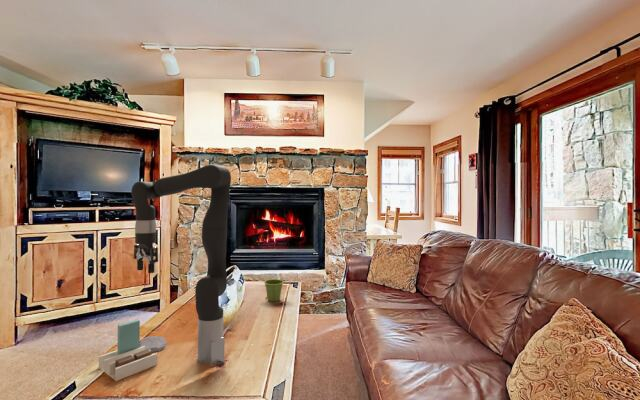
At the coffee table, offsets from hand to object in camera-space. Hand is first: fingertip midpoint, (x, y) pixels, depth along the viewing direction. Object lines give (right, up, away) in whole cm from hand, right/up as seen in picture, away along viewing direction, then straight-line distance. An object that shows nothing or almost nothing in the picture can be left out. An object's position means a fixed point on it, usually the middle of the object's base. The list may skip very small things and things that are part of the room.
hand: (145, 271), depth 137 cm
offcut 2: (+6, -31, -14) cm, 35 cm away
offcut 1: (+2, -31, -19) cm, 37 cm away
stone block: (+2, -33, +3) cm, 33 cm away
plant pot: (+42, -32, +70) cm, 88 cm away
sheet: (-2, -31, -9) cm, 33 cm away
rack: (+1, -33, -14) cm, 36 cm away
